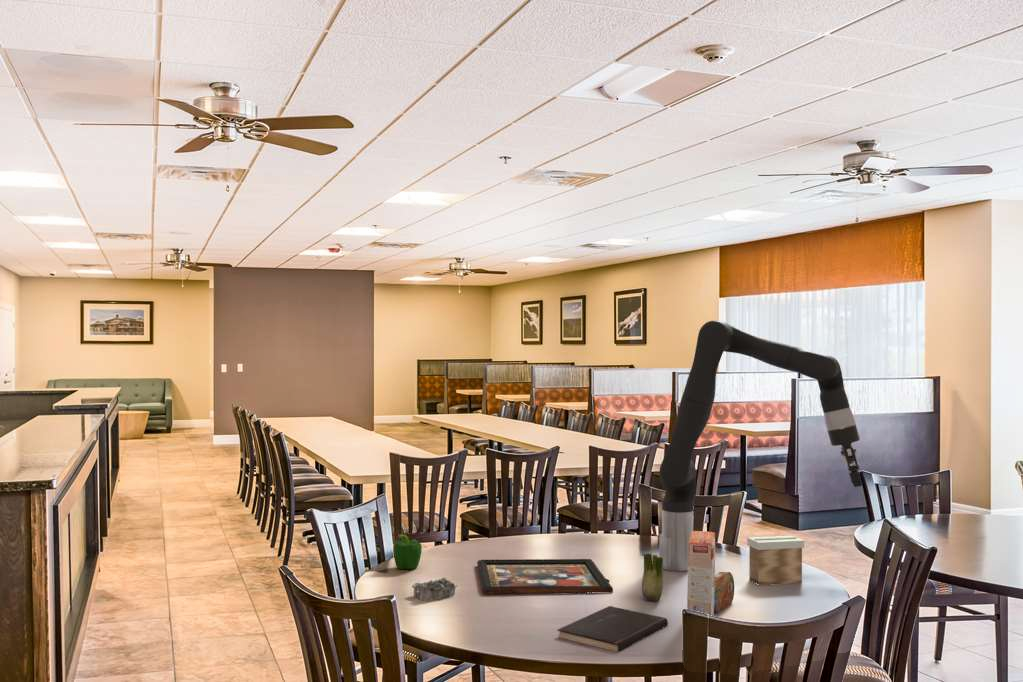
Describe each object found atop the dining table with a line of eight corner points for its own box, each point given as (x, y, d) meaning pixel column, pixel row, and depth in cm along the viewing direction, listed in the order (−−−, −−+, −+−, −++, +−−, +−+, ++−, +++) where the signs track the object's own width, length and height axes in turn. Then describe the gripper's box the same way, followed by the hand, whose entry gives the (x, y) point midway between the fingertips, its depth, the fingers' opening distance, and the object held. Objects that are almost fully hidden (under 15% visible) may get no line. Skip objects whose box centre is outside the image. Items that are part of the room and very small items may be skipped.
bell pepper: (424, 565, 264) (424, 531, 264) (418, 572, 256) (418, 537, 256) (396, 564, 265) (396, 530, 265) (390, 571, 257) (390, 536, 257)
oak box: (759, 585, 244) (759, 549, 244) (749, 580, 249) (749, 544, 249) (801, 583, 247) (802, 547, 247) (790, 577, 252) (791, 542, 252)
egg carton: (422, 603, 226) (422, 587, 226) (409, 596, 232) (409, 580, 232) (458, 597, 232) (459, 581, 232) (445, 590, 238) (445, 575, 238)
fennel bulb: (665, 602, 227) (665, 555, 227) (648, 603, 226) (648, 557, 226) (655, 596, 233) (655, 550, 233) (638, 597, 231) (638, 552, 231)
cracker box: (712, 634, 202) (713, 543, 202) (686, 632, 204) (686, 541, 204) (715, 616, 215) (716, 531, 216) (690, 614, 217) (691, 529, 217)
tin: (714, 616, 216) (714, 582, 216) (702, 614, 218) (702, 580, 218) (735, 601, 228) (735, 569, 228) (723, 599, 230) (723, 567, 230)
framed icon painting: (486, 601, 229) (486, 590, 229) (465, 568, 263) (465, 559, 263) (625, 595, 236) (625, 584, 236) (587, 564, 271) (587, 555, 271)
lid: (758, 552, 243) (758, 541, 243) (747, 547, 250) (747, 536, 250) (804, 550, 246) (804, 539, 246) (791, 545, 253) (792, 534, 253)
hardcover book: (557, 639, 200) (557, 629, 200) (609, 615, 218) (609, 605, 218) (618, 654, 190) (618, 644, 190) (667, 627, 208) (667, 618, 208)
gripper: (826, 428, 249) (841, 485, 247) (828, 430, 236) (844, 490, 234) (853, 422, 247) (869, 479, 245) (857, 424, 234) (873, 484, 231)
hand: (857, 484), depth 239 cm, fingers open, 8 cm apart
